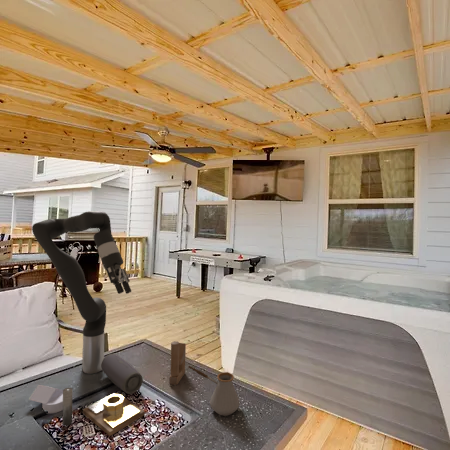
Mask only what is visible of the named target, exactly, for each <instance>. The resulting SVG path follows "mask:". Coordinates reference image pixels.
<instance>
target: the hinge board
mask: <svg viewBox="0 0 450 450" xmlns="http://www.w3.org/2000/svg"><path fill="white" fill-rule="evenodd" d="M114 394H119V393H118V392H114ZM130 404H131V405H132V406H134V407H135V408H136V409H138V410H139V411H140V413H139V414H137V415H135V416H134V417H132V418H130V419H129V420H127V421H125V422H124V423H122V424H120V425H119V426H117V427H115V428H114V429H113V428H111V427H110V426H109V425H108V424H107V423H105V422H104V419H105V418H107V417H108V416H106V415H104V414H103V411H102V412H101V413H99V414H97V415H95V414H94V413H93V412H92V411H90V410H89V409H88V408H87V407H85V408H83V409H82V414H83V415H84V416H85V417H87V419H89V420H90V421H91V422H93V424H95V426H97V427H99V429H101V430H102V431H103V432H104V433H105V434H106V435H108V437H111V436H113V435H114V434H117V433H118V432H119V431H121V430H122V429H125V428H126V427H127V426H129V425H131V424H132V423H134V422H135V421H137V420H138V419H140V418H143V416H144V417H145V410H143V409H142V408H141V407H139V406H138V405H137V404H134V403H133V402H131V401H130V400H129V399H127V398H126V397H124V408H125V407H127V406H128V405H130Z"/></svg>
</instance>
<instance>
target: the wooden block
mask: <svg viewBox="0 0 450 450" xmlns="http://www.w3.org/2000/svg"><path fill="white" fill-rule="evenodd" d="M186 348H187V347H186V342H185V343H183V342H179V341H177V340H175V341H172V342H171V343H170V375H169V376H168V377H169V383H168V384H169V385H172V386H177V385H178V384H179V383H180V381H181V380H182V378H183V376H185V373H186V351H187V350H186Z"/></svg>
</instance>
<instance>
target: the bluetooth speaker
mask: <svg viewBox="0 0 450 450" xmlns="http://www.w3.org/2000/svg"><path fill="white" fill-rule="evenodd" d="M101 368H102V370H101V371H102V372H103V373H104V374H105V376H106V377H107V378H108V379H109V380H110V381H111V383H112V384H114V385H115V386H116V387H118V388H119V389H120V390H121V391H122V392H124V393H125V394H128V395H131V394H135V393H136V392H138V391H139V390H140V389H141V387H142V384H143V381H144V379H143V376H142V374H141V373H140V372H139V370H138V369H136V368H135V366H133V365H131V364H130V363H129V362H128V361H127V360H125V359H124V358H123V357H121V356H119V355H117V354H116V353H110V354H107V355H106V356H104V359H103V361H102V364H101Z"/></svg>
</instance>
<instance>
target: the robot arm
mask: <svg viewBox="0 0 450 450" xmlns="http://www.w3.org/2000/svg"><path fill="white" fill-rule="evenodd" d="M89 229H98V230H99V231H98V232H96V233H95V234H94V235H93V241H94V244H95V246H96V249H97V252H98V255H99V258H100V261H101V263H102V265H103V269H104V270H105V271H106V274H107V276H108V278H109V281H110V283H111V284H112V285H114V287H115V289H116V292H117V295H118V294H123V293H124V292H125V294H126V295H127V294H129V293H132V289H131V286H130V284H129V283H130V281H131V280H130V279H129V276H128V274H127V273H128V272H127V271H126V269H125V268H122V267H121V266H122V265H124V259H123V257H122V254H121V251H120V250H119V247H118V246H117V244H116V241H115V239H114V236H113V234H112V226H111V219H110V216H109V214H108V213H106V212H105V211H98V210H97V211H95V210H94V211H92V210H91V211H89V210H88V211H85V212H82V213H81V214H79V215H78V214H77V215H73V216H70V217H67V218H48V219H45V220H42V221H38V222H35V223H34V224H33V225H32V226H31V231H32V234H33V236H34V238H35V240H36V241H37V242H38V244H39V245H40V247H41V248H42V249H43V252H44V253H45V254H46V255H47V256H48V258H49V259H50V261H51V263H52V264H53V266H54V267H55V270H56V272H57V273H58V275H59V277H60V279H61V280H62V282H63V283H64V285H65V287H66V288H67V290H68V292H69V294H70V295H71V297H72V298H73V301H74V302H75V306H76V308H77V309H78V312H79V314H80V316H81V318H82V319H83V320H85V323H84V326H83V328H82V359H81V360H82V366H81V367H82V372H83V374H87V375H88V374H89V375H90V374H91V375H92V374H97V373H100V372H101V371H103V370H102V368H101V364H102V361H103V359H104V358H105V327H106V324H107V323H106V322H107V305H106V302H105V301H104V299H102V298H101V297H93V296H92V295H91V293H90V291H89V289H88V285H87V281H86V278H85V277H86V276H85V273H84V270H83V269H82V266H81V265H80V263H79V262H78V260H77V259H76V258H75V257H74V256H72V255H70V254H69V253H67V252H65V251H63V250H62V249H60V248H59V247H58V245H56V243H55V241H53V240H54V239H57V238H59V237H60V236H62V235H65V234H66V233H80V232H84V231H88V230H89Z"/></svg>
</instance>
